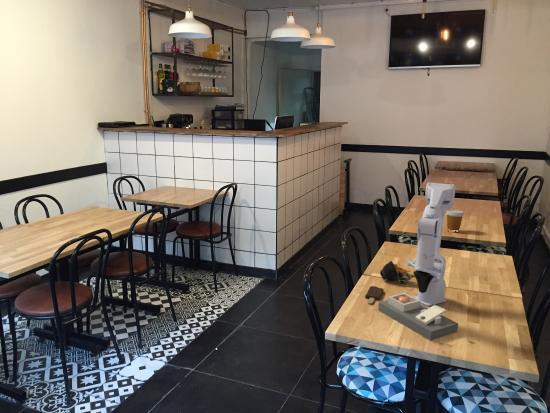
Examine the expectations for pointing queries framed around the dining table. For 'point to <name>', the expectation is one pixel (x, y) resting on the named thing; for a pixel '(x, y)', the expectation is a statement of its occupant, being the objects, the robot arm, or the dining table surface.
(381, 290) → the ice cream bar
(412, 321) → the grey board with tray
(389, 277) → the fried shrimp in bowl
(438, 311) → the rocker switch
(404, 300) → the button
